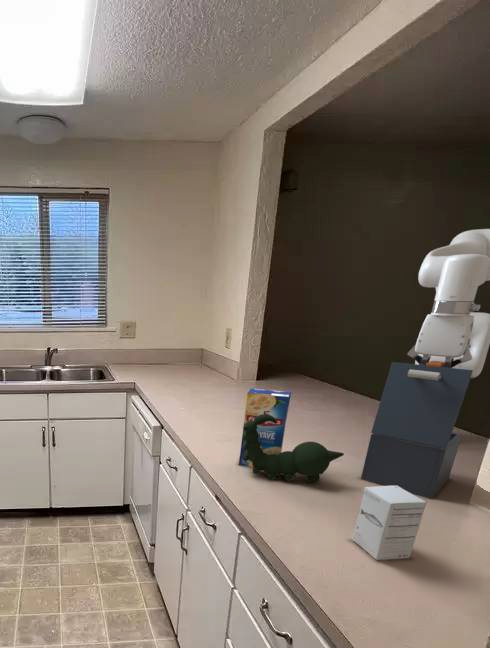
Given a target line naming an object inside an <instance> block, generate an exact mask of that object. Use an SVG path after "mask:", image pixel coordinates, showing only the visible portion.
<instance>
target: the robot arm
mask: <svg viewBox="0 0 490 648" xmlns="http://www.w3.org/2000/svg"><path fill="white" fill-rule="evenodd" d="M417 277H418V283H419V285H420V286H422V287H423V288H434V289H435V296H434V299H433V300H434V301H433V304H432V308H431V312H430V313H429V314H426V317H425V319H424V321H423V323H422V325H421V328H420V331H419V334H418V337H417V339H416V343H415V344H414V345H413V346H412V348H411V349H410V350H409V351H407V356H409V357H410V358H411V359H414V364H417V365H426V363H428V362H431V361H441V362H445V365H444V367H446V368H456V369H465V370H473V372H472V375H471V378H470V379H474V378H477V377H478V376H479V375H480V374H481V373H482V370H483V369H484V365H485V362H486V359H487V355H488V352H489V347H490V313H487V312H478V311H480V309H481V304H477V303H475V299H476V295H477V292H478V288H479V286H481V285H483V284H484V283H485V282H489V281H490V228H481V229H479V228H478V229H470V230H466V231H462V232H461V233H459V234H457V235H456V236H455V237H453V238H452V240H451V241H450V243H449V244H448V245H446V246H441V247H437V248H435V249H433V250H431V251H429V252H428V254H426V256H425V258H424V259H423V260H422V263H421V265H420V268H419V270H418V276H417ZM476 311H477V312H476Z"/></svg>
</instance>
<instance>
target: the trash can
mask: <svg viewBox="0 0 490 648" xmlns="http://www.w3.org/2000/svg"><path fill="white" fill-rule="evenodd" d="M462 436H463V434H462V433H461V434H460V433H456V432H452V434H451V437H450V440H449V443H448V446H447V449H445V448H441V447H436V446H431V445H426V444H422V443H417V442H412V441H407V440H403V439H398V438H393V437H388V436H384V435H379V434H374V433H370V438H369V442H368V446H367V451H366V455H365V459H364V464H363V467H362V471H361V477H360V480H364V481H367V482H371V483H374V484H378V485H380V486H399V487H400V488H402V489H404V490H406V491H408V492H409V493H411V494H413V495H417V496H420V497H424V498H426V499H427V498H428V499H433V497H435V495H436V494H437V493H438V492H439V490H440V489H441V488H442V487H443V486H444V485H445V484H446V482H447V481H448V480H449V479H450V476H451V472H452V469H453V466H454V464H455V459H456V457H457V454H458V450H459V446H460V443H461V441H462V438H463V437H462Z"/></svg>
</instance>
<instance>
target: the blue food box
mask: <svg viewBox="0 0 490 648" xmlns="http://www.w3.org/2000/svg"><path fill="white" fill-rule="evenodd" d="M291 395H292V391H285V390H275V389H264V388H254V387H253V388H252V387H251V388H250V389H249V390H248V392H247V395H246V403H245V411H244V420H243V424H244V423H246V422H248V421H253V422H254V419H255V418H256V416H258V415H262V414H268V415H271V416H273V417H274V418H275V419H276V420H277V423H276V424H275V423H274V422H271V421H267V422H264V423H263V424H261V425H257V430H256V431H257V432H258V434H259V436H258V440H259V442H260V448H261V449H262V450H263V453H266V454H268V455H269V454H277V455H279V454H280V453H282V452H283V451H282V450H283V444H284V438H285V433H286V432H285V431H286V426H287V419H288V413H289V407H290V402H291ZM244 432H245V430H244V429H243V428H242V436H241V443H240V444H241V445H240V451H239V460H238V466H243V467H249V468H253V464H252V462H251V461H249V460H248V461H244V460H243V459H242V457H243V453H244V452H246V450H244V449H243V446H244V445H243V442H244V441H245V439H243V433H244Z"/></svg>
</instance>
